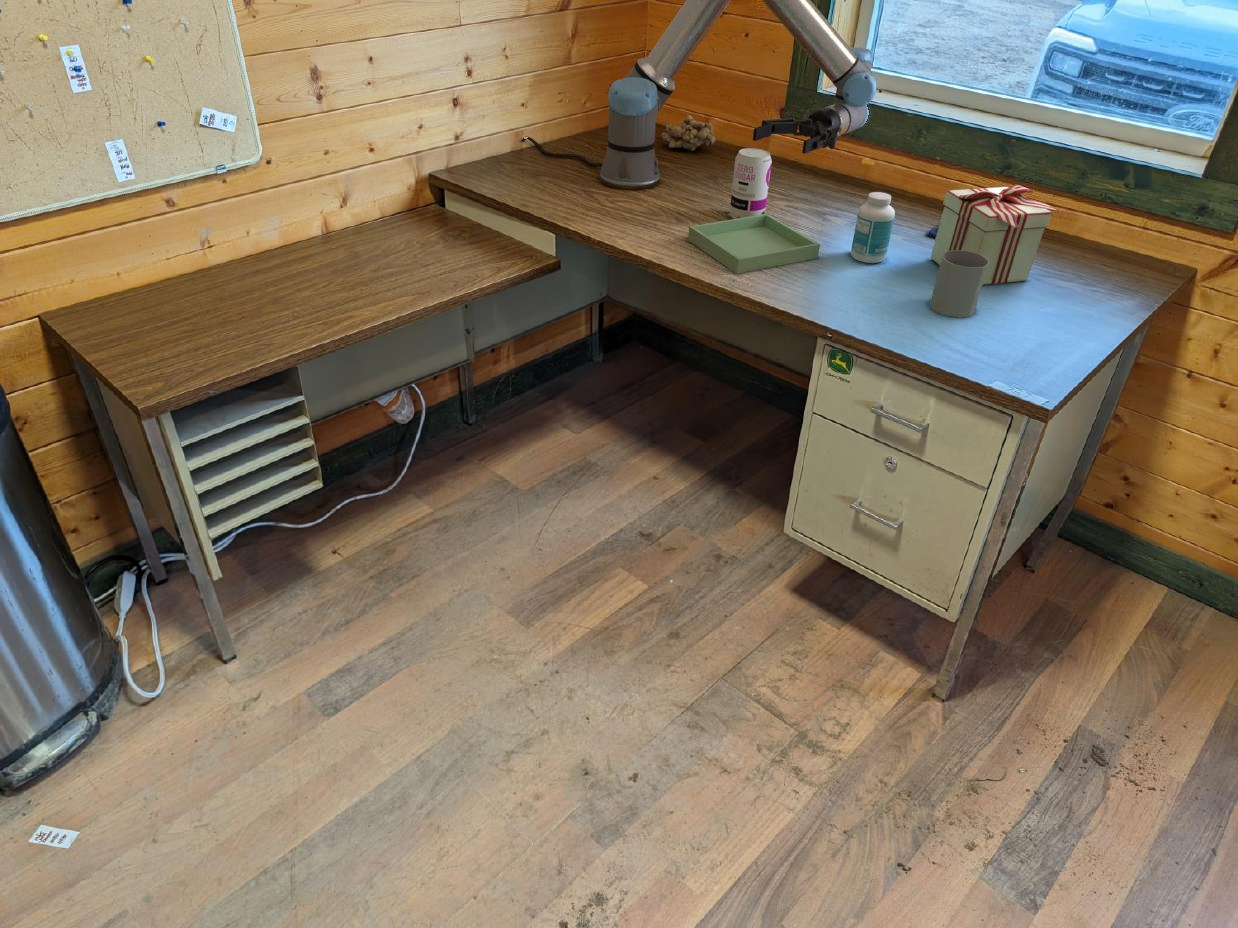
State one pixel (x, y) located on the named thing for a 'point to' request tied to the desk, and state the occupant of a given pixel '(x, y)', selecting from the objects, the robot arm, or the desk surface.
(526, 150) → the desk surface
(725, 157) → the desk surface
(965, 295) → the cup
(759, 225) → the tray
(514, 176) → the desk surface
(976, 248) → the gift box
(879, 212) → the pill bottle
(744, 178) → the supplement can
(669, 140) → the mineral formation
